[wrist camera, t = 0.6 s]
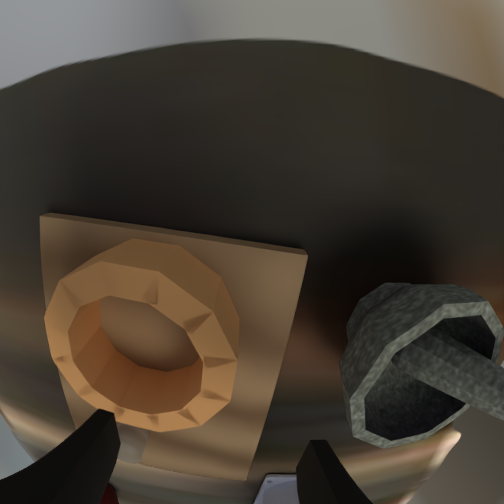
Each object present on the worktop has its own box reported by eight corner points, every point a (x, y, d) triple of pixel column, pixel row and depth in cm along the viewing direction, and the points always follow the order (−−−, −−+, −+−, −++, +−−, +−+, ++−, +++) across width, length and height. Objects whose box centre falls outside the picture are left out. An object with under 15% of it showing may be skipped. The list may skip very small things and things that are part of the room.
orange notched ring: (226, 398, 18) (223, 442, 14) (88, 368, 18) (64, 403, 14) (250, 256, 16) (250, 285, 12) (76, 229, 15) (36, 248, 11)
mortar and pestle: (308, 381, 20) (346, 533, 8) (329, 254, 17) (445, 395, 5) (436, 368, 20) (510, 469, 8) (470, 260, 17) (592, 336, 6)
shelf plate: (245, 471, 23) (245, 510, 18) (86, 437, 22) (70, 470, 17) (303, 249, 17) (323, 279, 12) (50, 212, 16) (3, 228, 11)
